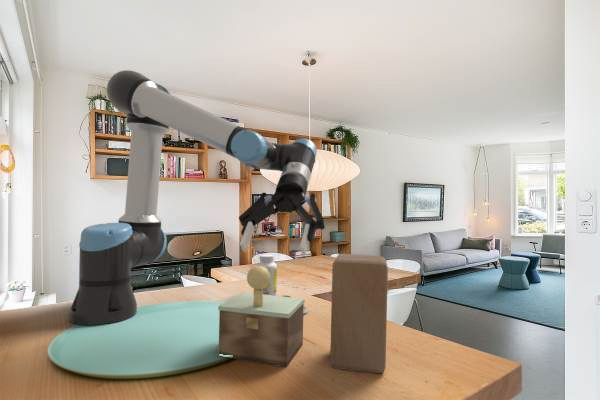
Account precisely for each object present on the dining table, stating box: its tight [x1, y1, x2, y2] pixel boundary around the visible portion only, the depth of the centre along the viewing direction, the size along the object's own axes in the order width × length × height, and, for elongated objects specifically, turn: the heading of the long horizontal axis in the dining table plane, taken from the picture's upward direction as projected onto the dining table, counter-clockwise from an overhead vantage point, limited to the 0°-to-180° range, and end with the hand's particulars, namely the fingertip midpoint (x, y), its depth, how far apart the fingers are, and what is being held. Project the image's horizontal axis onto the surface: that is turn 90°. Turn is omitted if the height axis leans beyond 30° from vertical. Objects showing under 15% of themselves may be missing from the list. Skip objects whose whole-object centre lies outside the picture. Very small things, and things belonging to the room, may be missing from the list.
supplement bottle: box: [256, 254, 278, 296], centre depth 117 cm, size 7×7×13 cm
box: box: [218, 302, 305, 368], centre depth 73 cm, size 14×11×9 cm
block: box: [329, 253, 389, 374], centre depth 70 cm, size 10×10×20 cm
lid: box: [217, 265, 306, 318], centre depth 73 cm, size 14×11×9 cm
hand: (272, 249), depth 77 cm, fingers open, 13 cm apart
